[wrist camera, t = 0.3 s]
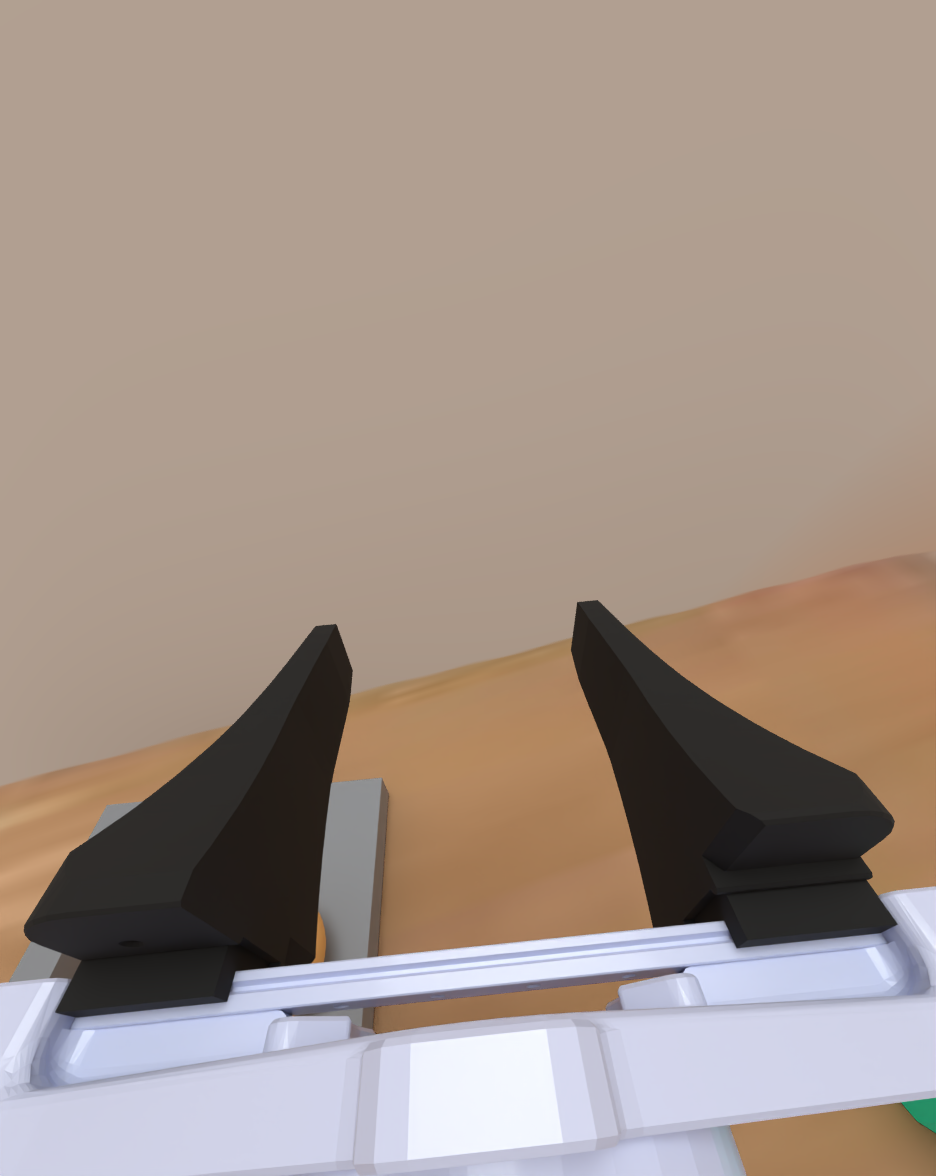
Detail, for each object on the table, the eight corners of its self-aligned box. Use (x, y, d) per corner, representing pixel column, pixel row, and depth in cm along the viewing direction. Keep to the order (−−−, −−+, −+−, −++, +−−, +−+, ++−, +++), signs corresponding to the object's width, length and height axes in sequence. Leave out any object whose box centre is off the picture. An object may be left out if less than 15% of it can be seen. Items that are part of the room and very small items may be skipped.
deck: (355, 1285, 16) (338, 1312, 14) (-138, 1349, 15) (-216, 1384, 13) (388, 793, 29) (381, 777, 27) (129, 819, 29) (107, 805, 27)
